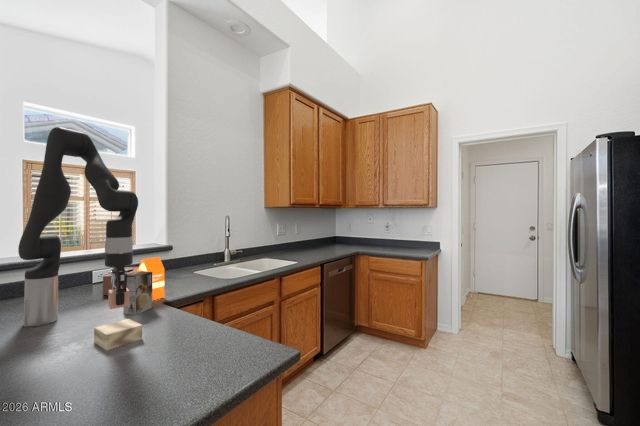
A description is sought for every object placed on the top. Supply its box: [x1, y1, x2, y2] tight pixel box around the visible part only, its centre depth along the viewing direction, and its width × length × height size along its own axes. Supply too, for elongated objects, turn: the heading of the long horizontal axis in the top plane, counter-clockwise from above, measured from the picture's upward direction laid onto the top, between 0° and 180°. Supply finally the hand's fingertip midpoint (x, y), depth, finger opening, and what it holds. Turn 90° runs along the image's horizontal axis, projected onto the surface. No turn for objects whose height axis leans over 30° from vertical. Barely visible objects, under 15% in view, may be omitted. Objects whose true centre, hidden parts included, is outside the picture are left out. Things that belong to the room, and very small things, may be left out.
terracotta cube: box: [107, 288, 129, 310], centre depth 95 cm, size 5×5×5 cm
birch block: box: [93, 318, 143, 352], centre depth 95 cm, size 10×10×5 cm
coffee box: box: [123, 271, 154, 315], centre depth 124 cm, size 9×6×16 cm
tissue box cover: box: [102, 266, 139, 296], centre depth 160 cm, size 26×14×10 cm, turn 14°
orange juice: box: [137, 256, 166, 301], centre depth 140 cm, size 8×9×20 cm
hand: (118, 302), depth 95 cm, fingers closed on terracotta cube, 5 cm apart
